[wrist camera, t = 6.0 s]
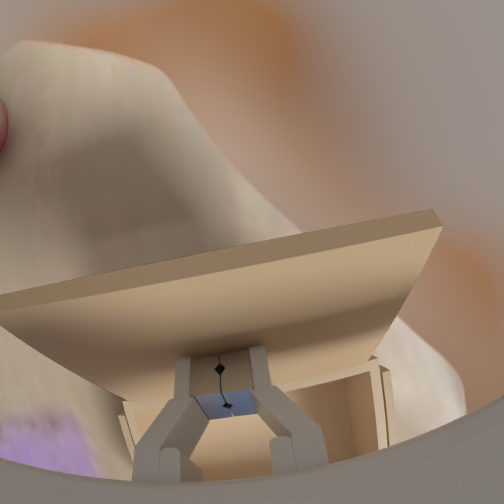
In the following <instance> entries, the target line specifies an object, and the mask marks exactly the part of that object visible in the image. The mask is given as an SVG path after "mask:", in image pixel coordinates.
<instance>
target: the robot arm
mask: <svg viewBox="0 0 504 504" xmlns="http://www.w3.org/2000/svg"><path fill="white" fill-rule="evenodd" d="M232 414H233V415H232ZM252 414H258V415H259V417H260V418H261V419H262V420H263V421H264V422H265V423H266V424H267V426H268V427H269V428H270V429H271V430H272V431H273V432H274V433H275V435H276V436H277V437H274V438H272V439H271V440H270V441H269V447H270V455H271V463H272V470H273V475H268V476H261V477H253V478H245V479H235V480H223V481H208V482H203V477H202V470H201V469H200V468H199V467H198V466H197V465H195V464H194V463H193V462H192V461H191V460H190V459H189V458H190V456H191V455H192V453H193V451H194V449H195V447H196V446H197V444H198V442H199V440H200V438H201V436H202V435H203V433H204V431H205V429H206V427H207V425H208V424H209V422H210V421H209V420H213V419H221V418H228V417H233V416H234V417H235V416H244V415H252ZM0 504H504V394H503V395H502V396H500V397H498V398H497V399H495V400H493V401H491V402H490V403H487V404H486V405H484V406H482V407H480V408H478V409H476V410H474V411H472V412H470V413H468V414H466V415H464V416H462V417H460V418H458V419H456V420H454V421H452V422H450V423H447V424H445V425H443V426H441V427H438V428H436V429H434V430H431V431H429V432H427V433H424V434H422V435H419V436H417V437H414V438H411V439H409V440H406V441H403V442H401V443H398V444H395V445H392V446H389V447H386V448H383V449H380V450H377V451H374V452H371V453H367V454H364V455H361V456H357V457H354V458H350V459H346V460H343V461H339V462H335V463H331V464H330V463H329V459H328V455H327V451H326V446H325V442H324V438H323V434H322V430H321V427H320V426H319V425H318V424H316V423H315V422H314V421H313V420H312V419H311V418H310V417H309V416H308V415H307V414H305V413H304V412H303V411H302V410H301V409H300V408H299V407H298V406H297V405H296V404H295V403H294V402H293V401H291V400H290V399H289V398H288V397H287V396H286V395H285V394H284V393H283V392H282V391H281V390H280V389H279V388H278V387H277V386H276V385H272V379H271V374H270V369H269V365H268V360H267V355H266V350H265V346H264V345H262V346H256V347H251V348H243V349H238V350H232V351H226V352H221V353H217V354H209V355H200V356H191V357H183V358H177V361H176V367H175V384H174V399H169V401H168V402H167V404H166V405H165V406H164V408H163V409H162V410H161V412H160V413H159V415H158V416H157V417H156V419H155V420H154V421H153V423H152V424H151V425H150V427H149V428H148V429H147V431H146V432H145V434H144V435H143V436H142V438H141V439H140V440H139V442H138V443H137V444H136V446H135V448H134V461H133V476H132V481H123V480H112V479H102V478H94V477H86V476H80V475H73V474H67V473H62V472H56V471H51V470H47V469H42V468H37V467H33V466H29V465H25V464H21V463H17V462H14V461H10V460H7V459H3V458H0Z"/></svg>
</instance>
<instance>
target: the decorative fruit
mask: <svg viewBox="0 0 504 504" xmlns="http://www.w3.org/2000/svg"><path fill="white" fill-rule="evenodd" d="M7 127H8V116H7V110H6V107H5V105H4V103H3V102H2V101H1V100H0V151H1V148H2V146H3V144H4V142H5V140H6V135H7Z"/></svg>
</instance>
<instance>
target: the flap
mask: <svg viewBox="0 0 504 504" xmlns="http://www.w3.org/2000/svg"><path fill="white" fill-rule="evenodd" d="M442 227H443V225H442V223H441V222H440V220H439V219H438V217H437V215H436V214H435V212H434V211H433V209H429V210H423V211H418V212H412V213H407V214H402V215H397V216H391V217H386V218H380V219H375V220H370V221H364V222H359V223H354V224H349V225H344V226H338V227H333V228H328V229H322V230H317V231H313V232H307V233H302V234H297V235H291V236H286V237H281V238H276V239H271V240H266V241H261V242H256V243H251V244H245V245H240V246H235V247H230V248H225V249H220V250H215V251H210V252H205V253H200V254H195V255H190V256H185V257H180V258H175V259H170V260H165V261H161V262H156V263H151V264H146V265H141V266H136V267H131V268H126V269H121V270H117V271H112V272H107V273H102V274H97V275H92V276H88V277H83V278H78V279H73V280H68V281H64V282H59V283H54V284H49V285H45V286H40V287H35V288H31V289H26V290H21V291H17V292H12V293H7V294H3V295H0V325H1V326H2V327H3V328H5V329H6V330H7V331H9V332H10V333H12V334H13V335H14V336H16V337H17V338H19V339H20V340H22V341H23V342H25V343H26V344H28V345H29V346H31V347H32V348H34V349H35V350H37V351H38V352H40V353H42V354H43V355H45V356H46V357H48V358H50V359H51V360H53V361H54V362H56V363H58V364H59V365H61V366H63V367H65V368H66V369H68V370H70V371H72V372H73V373H75V374H77V375H79V376H81V377H82V378H84V379H86V380H88V381H90V382H92V383H94V384H95V385H97V386H99V387H101V388H103V389H105V390H107V391H109V392H111V393H113V394H115V395H117V396H120V397H122V398H124V399H126V400H128V401H130V402H149V401H163V400H169V399H174V384H175V367H176V361H177V358H183V357H191V356H200V355H209V354H217V353H221V352H226V351H232V350H238V349H243V348H251V347H256V346H262V345H264V346H265V350H266V355H267V360H268V365H269V369H270V374H271V379H272V385H279V384H284V383H289V382H293V381H298V380H303V379H307V378H312V377H316V376H320V375H324V374H329V373H333V372H337V371H340V370H344V369H348V368H352V367H356V366H359V365H363V364H366V363H367V361H368V360H369V358H370V357H371V355H372V354H373V352H374V351H375V349H376V348H377V346H378V345H379V343H380V341H381V340H382V338H383V337H384V335H385V333H386V332H387V330H388V329H389V327H390V325H391V324H392V322H393V320H394V319H395V317H396V315H397V314H398V312H399V310H400V309H401V307H402V305H403V303H404V302H405V300H406V298H407V296H408V295H409V293H410V291H411V289H412V287H413V286H414V284H415V282H416V280H417V278H418V276H419V274H420V273H421V271H422V269H423V267H424V265H425V263H426V261H427V259H428V257H429V255H430V253H431V251H432V249H433V247H434V245H435V243H436V241H437V238H438V236H439V234H440V232H441V230H442Z"/></svg>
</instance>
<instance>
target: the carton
mask: <svg viewBox="0 0 504 504" xmlns="http://www.w3.org/2000/svg"><path fill="white" fill-rule="evenodd" d="M276 386H277V387H278V388H279V389H280V390H281V391H282V392H283V393H284V394H285V395H286V396H287V397H288V398H289V399H290V400H291V401H293V402H294V403H295V404H296V405H297V406H298V407H299V408H300V409H301V410H302V411H303V412H304V413H305V414H307V415H308V416H309V417H310V418H311V419H312V420H313V421H314V422H315V423H316V424H318V425H319V426H320V427H321V430H322V434H323V438H324V442H325V446H326V451H327V455H328V459H329V463H330V464H331V463H335V462H339V461H343V460H346V459H350V458H354V457H357V456H361V455H364V454H367V453H371V452H374V451H377V450H380V449H383V448H386V447H389V446H392V445H395V444H397V437H396V423H395V411H394V401H393V391H392V382H391V374H390V370H389V369H387V368H385V367H383V366H381V365H379V361H378V358H377V357H375V356H373V355H371V357H370V358H369V360H368V361H367V363H366V364H363V365H359V366H356V367H352V368H348V369H344V370H340V371H337V372H333V373H329V374H324V375H320V376H316V377H312V378H307V379H303V380H298V381H293V382H289V383H284V384H279V385H276ZM168 401H169V400H163V401H149V402H130V401H128V400H126V399H125V400H123V401H122V403H123V406H124V410H125V411H123V412H122V413H121V414H119V415H118V418H119V421H120V425H121V428H122V431H123V435H124V438H125V441H126V444H127V447H128V450H129V453H130V456H131V459H132V462H133V461H134V448H135V446H136V444H137V443H138V442H139V440H140V439H141V438H142V436H143V435H144V434H145V432H146V431H147V429H148V428H149V427H150V425H151V424H152V423H153V421H154V420H155V419H156V417H157V416H158V415H159V413H160V412H161V410H162V409H163V408H164V406H165V405H166V404H167V402H168ZM232 415H233V414H232ZM209 421H210V422H209V424H208V425H207V427H206V429H205V431H204V433H203V435H202V436H201V438H200V440H199V442H198V444H197V446H196V447H195V449H194V451H193V453H192V455H191V456H190V458H189V459H190V460H191V461H192V462H193V463H194V464H195V465H197V466H198V467H199V468H200V469H201V470H202V477H203V482H208V481H223V480H235V479H245V478H253V477H261V476H268V475H273V470H272V463H271V455H270V447H269V441H270V440H271V439H272V438H274V437H277V436H276V435H275V433H274V432H273V431H272V430H271V429H270V428H269V427H268V426H267V424H266V423H265V422H264V421H263V420H262V419H261V418H260V417H259V415H258V414H252V415H244V416H235V417H234V416H233V417H228V418H221V419H213V420H209Z"/></svg>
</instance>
